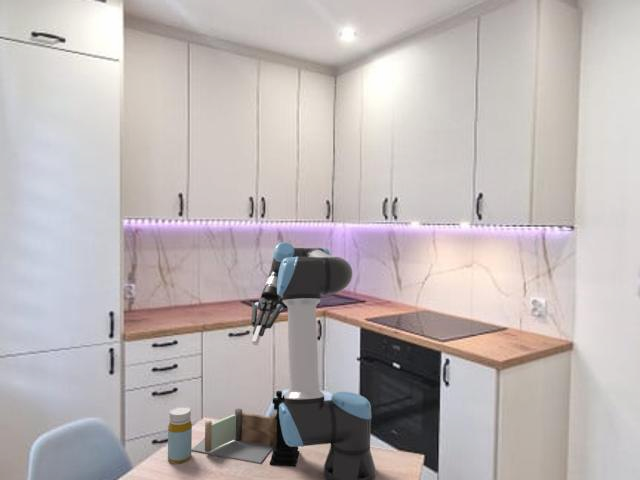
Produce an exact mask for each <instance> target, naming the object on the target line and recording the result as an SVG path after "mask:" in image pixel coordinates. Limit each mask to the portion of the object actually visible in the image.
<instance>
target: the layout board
mask: <svg viewBox="0 0 640 480" xmlns="http://www.w3.org/2000/svg"><path fill="white" fill-rule="evenodd" d="M273 450H274V447H270V446H269V445H263V444H257V443H251V442H246V441H242V440H240V441H235V439H234V440H232V441H230V442H228V443H225V444H223V445H221V446H219V447H217V448H215V449H213V450H211V451H210V452H205V437H204V438H203V439H202V440H201V441H200V442H198V443H197V444H196V445H195V446H194V447H193V448H191V452H194V453H195V452H196V453H199V454H200V453H201V454H207V455H211V456H217V457H222V458H228V459H232V460H233V459H234V460H239V461H244V462H250V463H253V464H260V465H261V464H262V463H263V462H264V460H265V459H266V458H267V457H268V456H269V454H270V453H271V452H272V451H273Z"/></svg>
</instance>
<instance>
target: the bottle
mask: <svg viewBox="0 0 640 480" xmlns="http://www.w3.org/2000/svg"><path fill="white" fill-rule="evenodd" d="M191 412H192V410H191V408H190V407H188V406H177V407H174V408H171V409H170V411H169V422H168V423H169V424H168V426H167V460H168V462H170V463H172V464H176V465H177V464H183V463H186V462H187V461H189V459H191V457H192V451H191V450H192V449H193V448H192V447H193V446H192V443H193V442H192V441H193V440H192V439H193V436H192V434H193V433H192V432H193V428H192V427H193V425H192V421H191V416H192V413H191Z"/></svg>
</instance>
